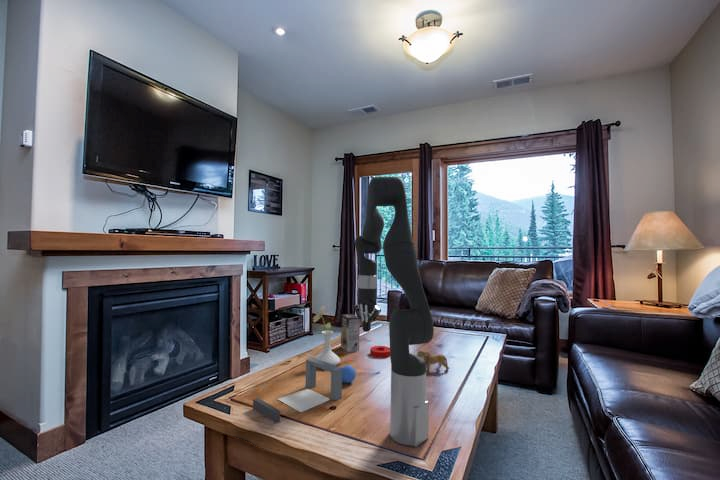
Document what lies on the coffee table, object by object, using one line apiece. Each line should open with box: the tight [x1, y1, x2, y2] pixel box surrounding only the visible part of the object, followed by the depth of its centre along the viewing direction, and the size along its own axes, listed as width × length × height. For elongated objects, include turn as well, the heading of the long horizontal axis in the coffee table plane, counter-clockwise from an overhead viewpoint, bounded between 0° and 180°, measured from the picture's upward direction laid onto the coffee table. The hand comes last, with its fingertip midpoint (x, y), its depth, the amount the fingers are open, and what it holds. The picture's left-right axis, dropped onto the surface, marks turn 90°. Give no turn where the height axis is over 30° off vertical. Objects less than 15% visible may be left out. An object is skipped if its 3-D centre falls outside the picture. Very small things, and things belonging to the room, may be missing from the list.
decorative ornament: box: [369, 345, 390, 359], centre depth 157 cm, size 10×10×3 cm
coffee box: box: [340, 313, 361, 353], centre depth 165 cm, size 9×6×16 cm
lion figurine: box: [416, 349, 450, 374], centre depth 137 cm, size 15×5×9 cm, turn 108°
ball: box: [341, 364, 357, 384], centre depth 124 cm, size 6×6×6 cm
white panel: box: [277, 387, 331, 413], centre depth 109 cm, size 12×12×1 cm
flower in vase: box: [312, 305, 341, 366], centre depth 141 cm, size 13×11×25 cm
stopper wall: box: [252, 397, 281, 424], centre depth 99 cm, size 12×2×3 cm, turn 48°
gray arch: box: [304, 357, 343, 402], centre depth 115 cm, size 3×15×10 cm, turn 47°
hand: (366, 331), depth 132 cm, fingers closed
